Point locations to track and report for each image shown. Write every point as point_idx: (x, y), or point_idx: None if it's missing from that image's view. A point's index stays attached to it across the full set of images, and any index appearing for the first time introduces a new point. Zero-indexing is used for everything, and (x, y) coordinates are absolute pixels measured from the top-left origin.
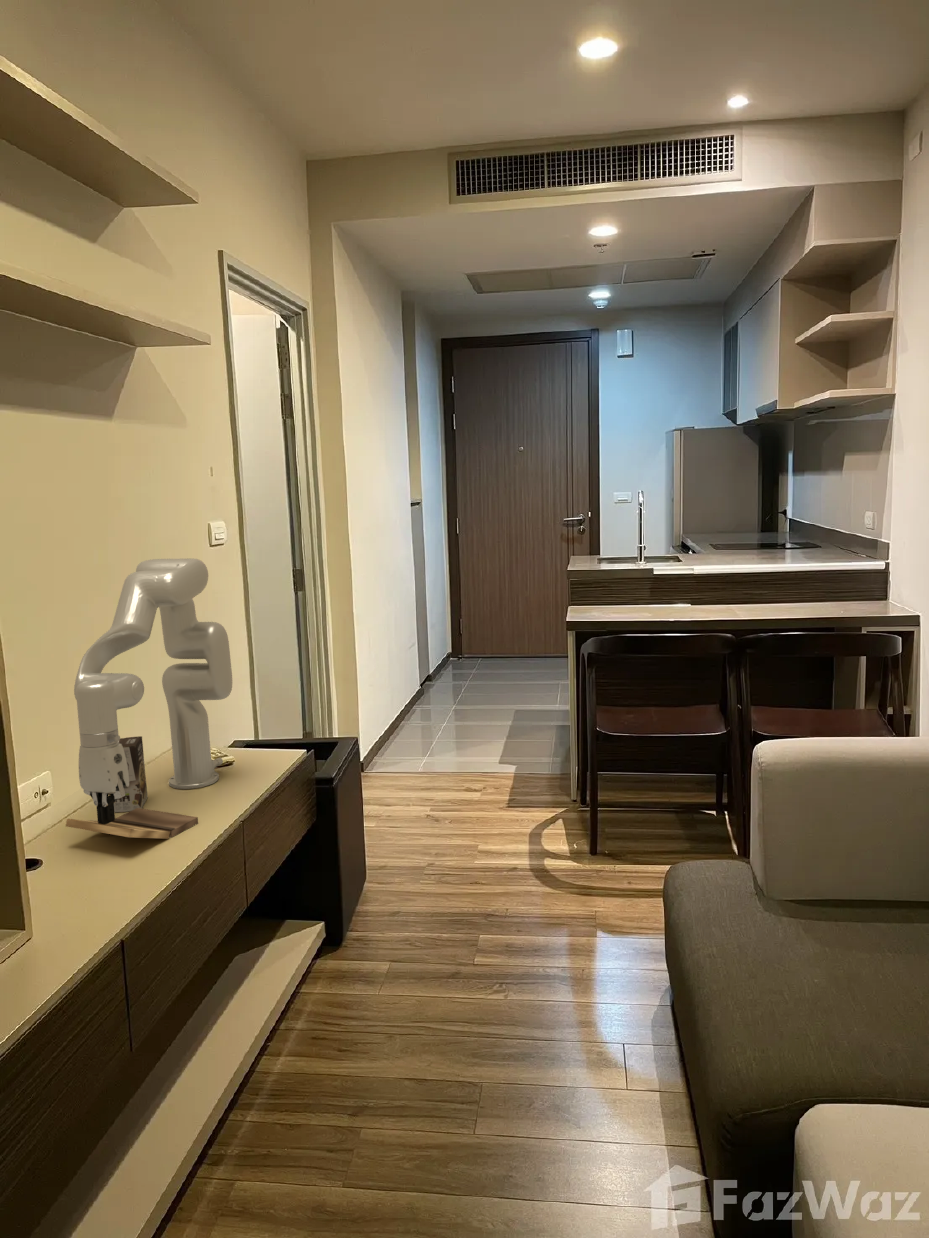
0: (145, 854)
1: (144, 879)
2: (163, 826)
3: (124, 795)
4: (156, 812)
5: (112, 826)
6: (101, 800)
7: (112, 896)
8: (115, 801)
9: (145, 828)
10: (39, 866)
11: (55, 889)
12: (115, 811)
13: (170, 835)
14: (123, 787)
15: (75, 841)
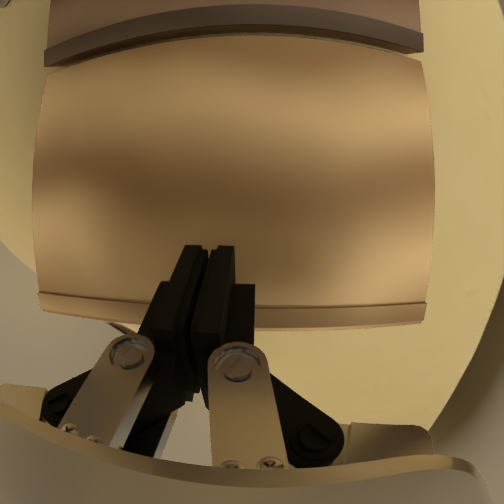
0: None
1: (452, 319)
2: (360, 16)
3: (426, 437)
4: None
5: (311, 325)
6: (165, 403)
7: (416, 372)
8: (264, 359)
9: (323, 84)
10: None
11: None
12: (4, 4)
13: (401, 50)
14: (369, 463)
15: None
